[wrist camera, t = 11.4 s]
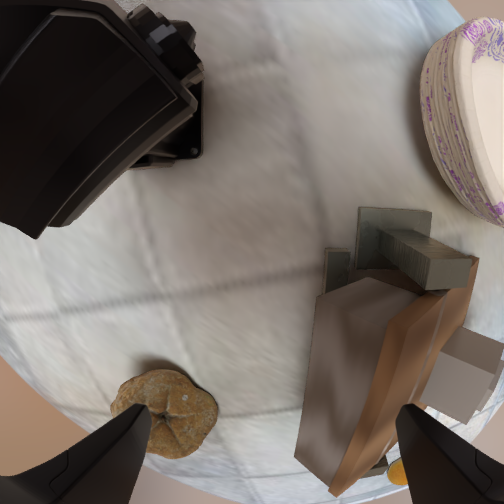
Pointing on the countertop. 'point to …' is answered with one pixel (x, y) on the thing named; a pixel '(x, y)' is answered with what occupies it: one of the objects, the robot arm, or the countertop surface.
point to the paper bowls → (468, 114)
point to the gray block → (464, 375)
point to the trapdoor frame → (397, 258)
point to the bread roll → (397, 473)
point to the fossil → (170, 411)
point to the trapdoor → (370, 371)
